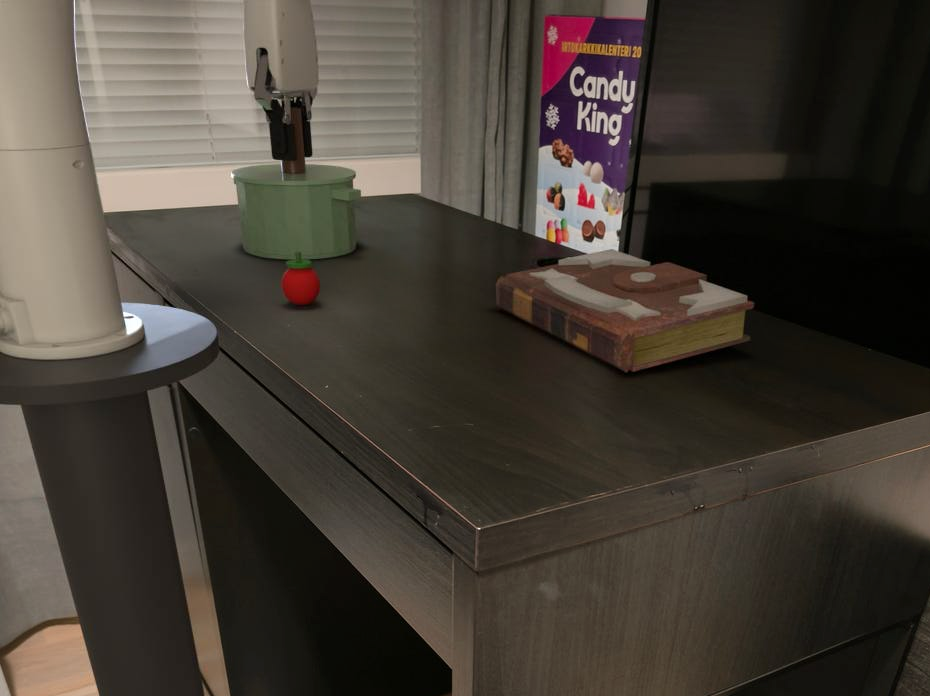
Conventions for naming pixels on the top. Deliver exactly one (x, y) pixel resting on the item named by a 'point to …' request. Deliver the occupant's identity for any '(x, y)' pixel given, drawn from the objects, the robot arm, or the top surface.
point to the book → (626, 308)
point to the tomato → (300, 281)
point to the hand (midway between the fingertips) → (292, 156)
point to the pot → (297, 219)
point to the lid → (294, 167)
